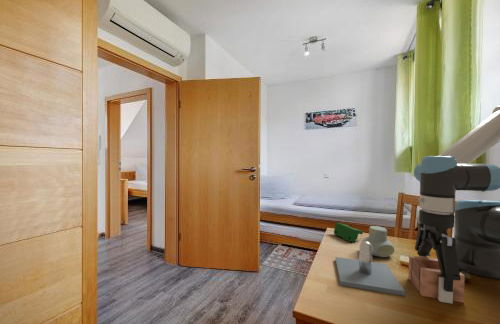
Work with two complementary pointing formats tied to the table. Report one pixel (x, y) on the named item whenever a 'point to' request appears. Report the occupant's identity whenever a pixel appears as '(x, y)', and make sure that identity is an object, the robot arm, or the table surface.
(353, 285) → the post board
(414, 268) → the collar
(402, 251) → the table surface
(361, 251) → the steel post
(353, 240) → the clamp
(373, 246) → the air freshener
